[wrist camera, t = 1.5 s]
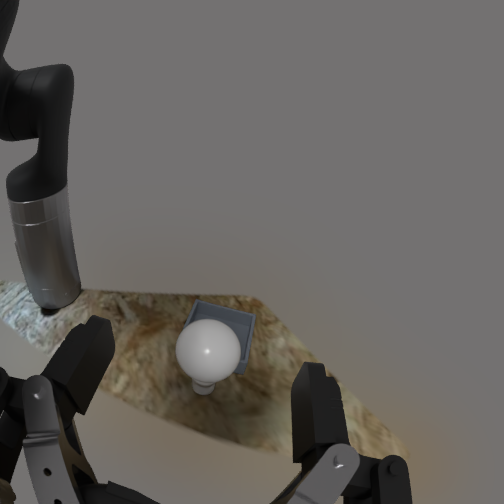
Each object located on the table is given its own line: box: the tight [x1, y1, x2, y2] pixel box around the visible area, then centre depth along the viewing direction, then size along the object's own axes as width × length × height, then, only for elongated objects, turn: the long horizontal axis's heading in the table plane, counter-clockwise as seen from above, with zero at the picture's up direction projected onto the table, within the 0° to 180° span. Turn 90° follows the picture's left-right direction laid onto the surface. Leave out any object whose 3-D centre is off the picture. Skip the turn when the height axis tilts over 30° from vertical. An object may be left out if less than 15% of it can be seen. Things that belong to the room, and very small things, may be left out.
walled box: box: [183, 299, 256, 375], centre depth 35 cm, size 9×9×3 cm
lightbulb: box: [175, 319, 241, 395], centre depth 26 cm, size 6×6×11 cm
